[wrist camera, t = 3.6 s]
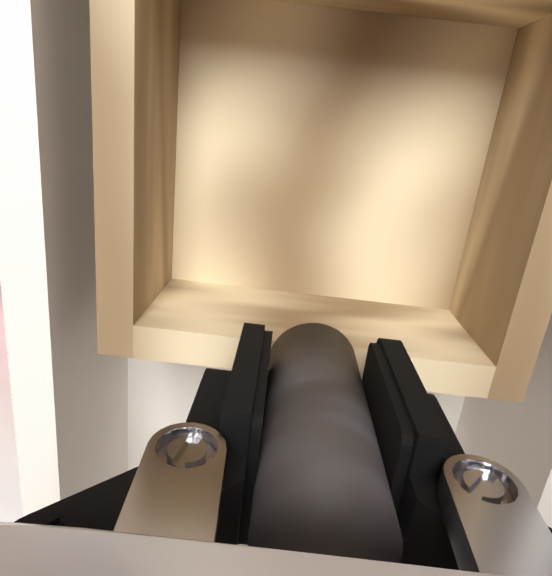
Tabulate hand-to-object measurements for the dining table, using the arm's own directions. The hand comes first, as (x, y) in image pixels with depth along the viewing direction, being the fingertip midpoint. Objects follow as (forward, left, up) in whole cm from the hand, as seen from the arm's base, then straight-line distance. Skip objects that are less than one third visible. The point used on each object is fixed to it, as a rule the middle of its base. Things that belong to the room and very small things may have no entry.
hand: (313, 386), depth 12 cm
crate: (0, -5, -6) cm, 8 cm away
